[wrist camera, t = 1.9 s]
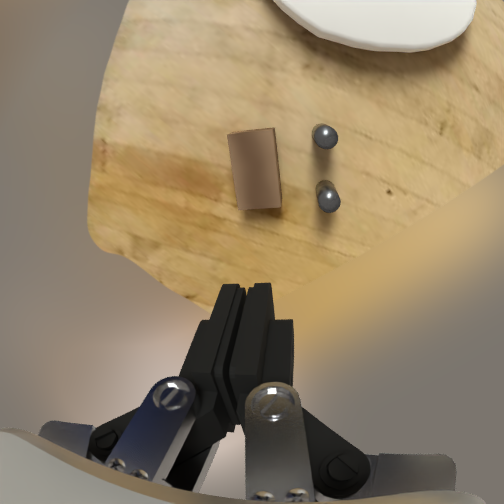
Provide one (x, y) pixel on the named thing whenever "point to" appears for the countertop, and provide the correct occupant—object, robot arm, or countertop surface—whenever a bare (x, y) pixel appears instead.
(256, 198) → the block
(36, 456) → the robot arm
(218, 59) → the countertop surface
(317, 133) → the bench dogs
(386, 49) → the white thick disc
